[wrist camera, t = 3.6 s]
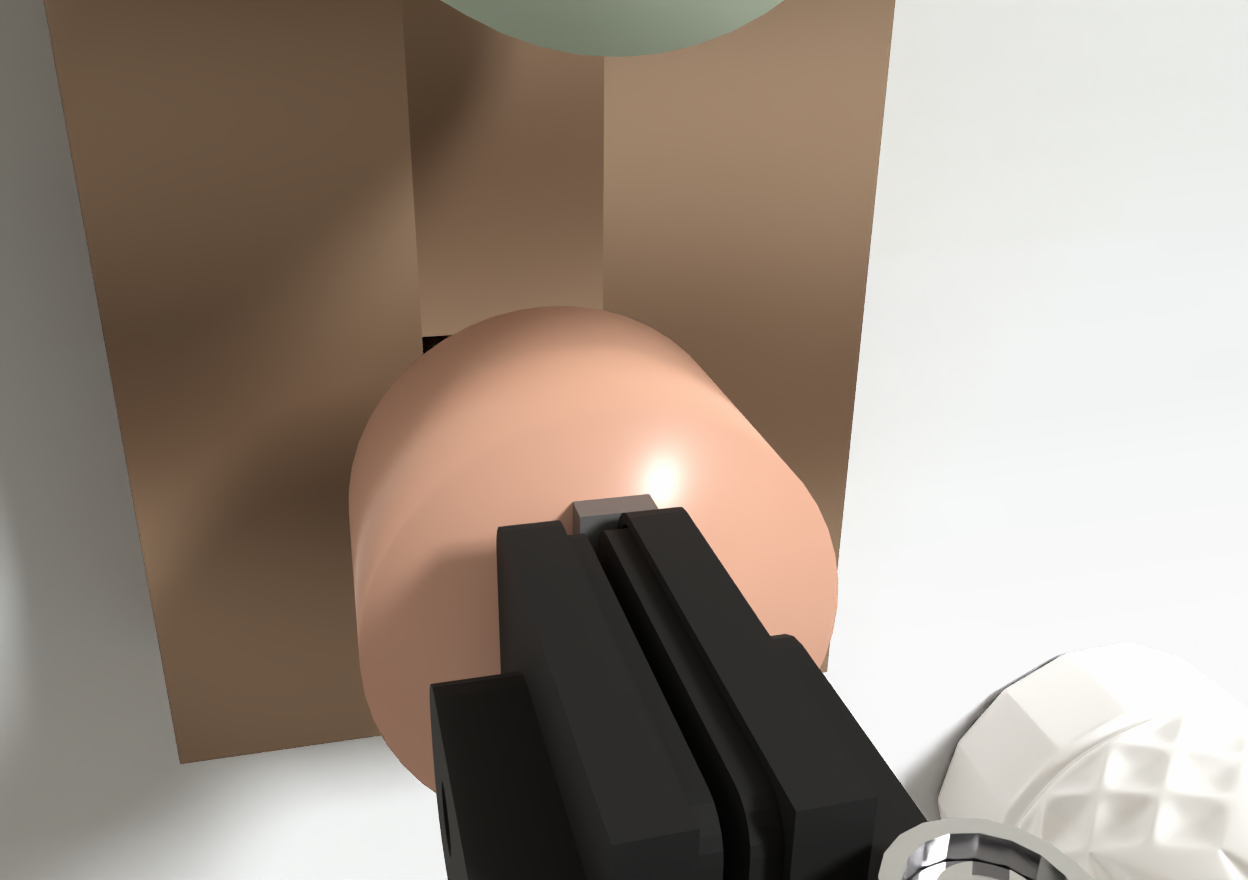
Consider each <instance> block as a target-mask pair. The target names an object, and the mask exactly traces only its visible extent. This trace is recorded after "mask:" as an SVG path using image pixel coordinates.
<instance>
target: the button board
mask: <svg viewBox="0 0 1248 880" xmlns="http://www.w3.org/2000/svg"><path fill="white" fill-rule="evenodd" d="M44 5H45V10H46V16H47V21H48V27H49V32H50V38H51V44H52V49H53V55H54V60H55V66H56V72H57V77H58V83H59V88H60V94H61V100H62V105H63V111H64V116H65V122H66V128H67V133H68V139H69V144H70V150H71V156H72V161H73V167H74V172H75V178H76V184H77V189H78V195H79V200H80V206H81V211H82V217H83V223H84V228H85V234H86V239H87V245H88V251H89V256H90V262H91V267H92V273H93V279H94V284H95V290H96V295H97V301H98V307H99V312H100V318H101V323H102V329H103V335H104V340H105V346H106V351H107V357H108V363H109V368H110V374H111V379H112V385H113V390H114V396H115V402H116V407H117V413H118V418H119V424H120V430H121V435H122V441H123V446H124V452H125V458H126V463H127V469H128V474H129V480H130V486H131V491H132V497H133V502H134V508H135V514H136V519H137V525H138V530H139V536H140V542H141V547H142V553H143V558H144V564H145V570H146V575H147V581H148V586H149V592H150V597H151V603H152V609H153V614H154V620H155V625H156V631H157V637H158V642H159V648H160V653H161V659H162V665H163V670H164V676H165V681H166V687H167V693H168V698H169V704H170V709H171V715H172V721H173V726H174V732H175V737H176V743H177V749H178V754H179V760H180V764H184V763H191V762H198V761H205V760H212V759H219V758H226V757H233V756H240V755H247V754H254V753H261V752H268V751H275V750H282V749H289V748H296V747H303V746H310V745H317V744H324V743H331V742H338V741H345V740H352V739H359V738H366V737H373V736H380V735H381V733H380V731H379V729H378V727H377V725H376V724H375V722H374V720H373V717H372V714H371V711H370V708H369V705H368V703H367V700H366V697H365V693H364V688H363V682H362V676H361V671H360V661H359V647H358V633H357V619H356V605H355V591H354V577H353V563H352V549H351V535H350V521H349V485H350V477H351V469H352V464H353V461H354V457H355V454H356V450H357V447H358V443H359V441H360V438H361V436H362V434H363V432H364V429H365V427H366V425H367V423H368V420H369V418H370V417H371V415H372V413H373V412H374V410H375V409H376V407H377V405H378V404H379V402H380V400H381V399H382V397H383V396H384V395H385V393H386V392H387V391H388V390H389V388H390V387H391V386H392V385H393V384H394V382H395V381H396V380H397V379H398V378H399V376H400V375H401V374H402V373H403V372H404V371H405V370H407V369H408V368H409V367H410V366H411V365H412V364H413V363H414V362H415V361H416V360H417V359H418V358H419V357H420V356H422V355H423V343H422V337H429V336H444V335H453V334H455V333H457V332H459V331H461V330H463V329H464V328H466V327H468V326H471V325H473V324H476V323H478V322H481V321H483V320H486V319H489V318H491V317H494V316H498V315H501V314H505V313H509V312H513V311H517V310H522V309H529V308H537V307H545V306H577V307H584V308H592V309H599V310H604V311H608V312H611V313H615V314H619V315H622V316H626V317H628V318H631V319H633V320H635V321H638V322H640V323H642V324H645V325H647V326H649V327H651V328H653V329H654V330H656V331H658V332H659V333H661V334H663V335H664V336H666V337H668V338H669V339H671V340H672V341H673V342H674V343H676V344H677V345H678V346H679V347H681V348H682V349H683V350H684V351H685V352H687V353H688V354H689V355H690V356H691V357H692V358H693V359H694V361H695V362H696V363H697V364H698V365H699V366H700V367H701V368H702V369H703V370H704V372H705V373H706V374H707V375H708V376H709V377H710V378H711V379H712V381H713V382H714V383H715V384H716V385H717V386H718V387H719V389H720V390H721V391H722V392H723V393H724V394H725V395H726V396H727V398H728V399H729V400H730V401H731V402H732V403H733V404H734V406H735V407H736V408H737V409H738V410H739V411H740V412H741V413H742V415H743V416H744V417H745V418H746V419H747V420H748V421H749V423H750V424H751V425H752V426H753V427H754V428H755V429H756V430H757V432H758V433H759V434H760V435H761V436H762V437H763V438H764V440H765V441H766V442H767V443H768V444H769V445H770V446H771V447H772V449H773V450H774V451H775V452H776V453H777V454H778V455H779V457H780V458H781V459H782V460H783V461H784V462H785V463H786V464H787V466H788V467H789V468H790V469H791V470H792V471H793V472H794V474H795V475H796V476H797V477H798V478H799V479H800V480H801V481H802V483H803V484H804V485H805V487H806V488H807V490H808V492H809V493H810V495H811V496H812V498H813V499H814V501H815V502H816V504H817V505H818V507H819V510H820V512H821V514H822V516H823V519H824V521H825V523H826V525H827V527H828V530H829V534H830V537H831V541H832V545H833V548H834V552H835V558H836V566H837V568H838V558H839V548H840V538H841V528H842V519H843V509H844V499H845V489H846V479H847V469H848V460H849V450H850V440H851V430H852V420H853V411H854V401H855V391H856V381H857V371H858V361H859V352H860V342H861V332H862V322H863V312H864V303H865V293H866V283H867V273H868V263H869V254H870V244H871V234H872V224H873V214H874V204H875V195H876V185H877V175H878V165H879V155H880V146H881V136H882V126H883V116H884V106H885V96H886V87H887V77H888V67H889V57H890V47H891V38H892V28H893V18H894V8H895V0H784V1H782V2H781V3H779V4H778V5H777V6H775V7H774V8H773V9H771V10H770V11H768V12H767V13H765V14H764V15H762V16H760V17H758V18H756V19H754V20H752V21H751V22H749V23H747V24H745V25H743V26H741V27H740V28H738V29H736V30H734V31H732V32H730V33H727V34H724V35H722V36H719V37H716V38H714V39H711V40H708V41H706V42H703V43H701V44H698V45H695V46H691V47H686V48H682V49H677V50H673V51H669V52H664V53H660V54H651V55H639V56H627V57H609V56H592V55H578V54H573V53H568V52H564V51H559V50H554V49H549V48H544V47H540V46H537V45H534V44H531V43H528V42H525V41H522V40H520V39H517V38H514V37H511V36H508V35H505V34H502V33H500V32H498V31H496V30H494V29H492V28H490V27H488V26H486V25H485V24H483V23H481V22H479V21H477V20H475V19H473V18H471V17H469V16H467V15H465V14H463V13H461V12H460V11H458V10H456V9H455V8H453V7H451V6H450V5H448V4H446V3H444V2H443V1H441V0H44ZM829 646H830V643H829ZM829 646H828V649H827V652H826V655H825V658H824V661H823V663H822V665H821V667H820V670H821V672H827V666H828V656H829Z"/></svg>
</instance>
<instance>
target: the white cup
mask: <svg viewBox="0 0 1248 880" xmlns="http://www.w3.org/2000/svg"><path fill="white" fill-rule="evenodd" d="M938 805H939V811H940V818H941V819H946V818H951V817H957V818H975V819H987V820H990V821H994V822H998V823H1002V824H1006V825H1009V826H1013V827H1017V828H1020V829H1022V830H1024V831H1026V832H1028V833H1030V834H1032V835H1034V836H1036V837H1039V838H1041V839H1043V840H1045V841H1047V842H1049V843H1051V844H1052V845H1053V846H1055V847H1056V848H1057V849H1059V850H1060V851H1061V852H1063V853H1064V854H1065V855H1067V856H1068V857H1069V858H1071V859H1072V860H1073V861H1074V862H1076V863H1077V864H1078V865H1079V866H1080V867H1081V868H1083V869H1084V870H1085V871H1086V872H1087V873H1088V874H1089V875H1090V876H1091V877H1092V878H1093V879H1094V880H1248V708H1246V707H1245V706H1244V705H1243V704H1241V703H1240V702H1239V701H1237V700H1236V699H1235V698H1234V697H1232V696H1231V695H1230V694H1228V693H1227V692H1226V691H1225V690H1223V689H1222V688H1221V687H1219V686H1218V685H1217V684H1215V683H1214V682H1213V681H1212V680H1210V679H1209V678H1208V677H1206V676H1205V675H1204V674H1203V673H1201V672H1200V671H1199V670H1197V669H1196V668H1195V667H1193V666H1192V665H1191V664H1189V663H1188V662H1187V661H1185V660H1184V659H1182V658H1180V657H1177V656H1174V655H1171V654H1167V653H1164V652H1161V651H1158V650H1154V649H1151V648H1148V647H1145V646H1141V645H1138V644H1135V643H1132V642H1125V643H1119V644H1114V645H1108V646H1103V647H1097V648H1091V649H1086V650H1080V651H1074V652H1069V653H1065V654H1063V655H1061V656H1060V657H1058V658H1056V659H1055V660H1053V661H1051V662H1050V663H1048V664H1046V665H1044V666H1043V667H1041V668H1039V669H1038V670H1036V671H1034V672H1032V673H1031V674H1029V675H1027V676H1026V677H1024V678H1022V679H1021V680H1019V681H1017V682H1016V683H1014V684H1012V685H1011V686H1009V687H1007V688H1006V689H1004V690H1003V691H1002V692H1001V693H1000V695H999V696H998V697H997V698H996V699H995V700H994V701H993V703H992V704H991V705H990V706H989V707H988V708H987V709H986V710H985V711H984V713H983V714H982V715H981V716H980V717H979V718H978V719H977V721H976V722H975V723H974V724H973V725H972V727H971V728H970V729H969V730H968V731H967V732H966V733H965V735H964V736H963V737H962V738H961V739H960V741H959V742H958V744H957V747H956V749H955V752H954V755H953V758H952V760H951V763H950V766H949V768H948V771H947V774H946V777H945V780H944V782H943V785H942V788H941V791H940V794H939V797H938Z"/></svg>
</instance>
